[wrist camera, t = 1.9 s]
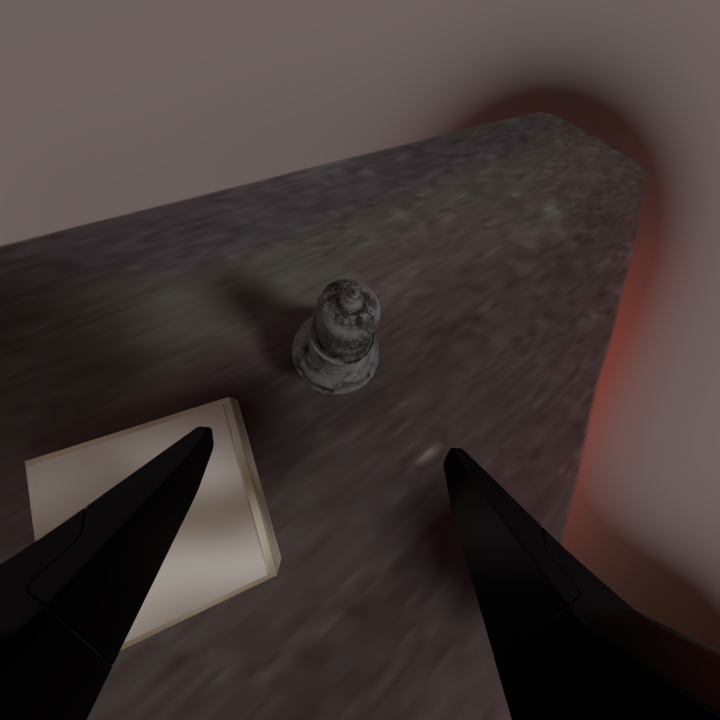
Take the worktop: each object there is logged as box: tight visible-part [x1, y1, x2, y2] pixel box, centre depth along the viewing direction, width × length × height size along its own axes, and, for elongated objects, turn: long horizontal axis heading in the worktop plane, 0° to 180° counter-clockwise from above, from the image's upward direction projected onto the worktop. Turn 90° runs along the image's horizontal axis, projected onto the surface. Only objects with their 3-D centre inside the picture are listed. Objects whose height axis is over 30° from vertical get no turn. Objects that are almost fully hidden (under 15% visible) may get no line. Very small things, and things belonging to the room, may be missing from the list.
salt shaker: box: [292, 279, 380, 396], centre depth 16 cm, size 6×6×12 cm
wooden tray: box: [25, 397, 281, 651], centre depth 16 cm, size 11×11×2 cm
